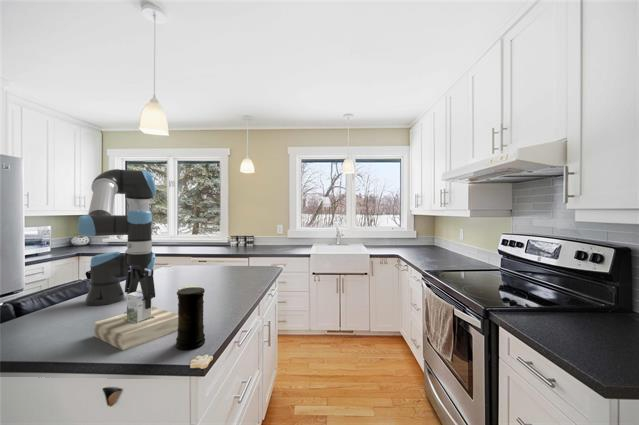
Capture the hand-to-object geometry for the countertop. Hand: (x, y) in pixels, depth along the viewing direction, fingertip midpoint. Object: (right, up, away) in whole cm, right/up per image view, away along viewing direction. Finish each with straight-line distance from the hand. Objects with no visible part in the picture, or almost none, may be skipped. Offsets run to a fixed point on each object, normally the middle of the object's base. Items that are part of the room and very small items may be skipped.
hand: (139, 314), depth 105 cm
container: (+23, -7, -9) cm, 25 cm away
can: (+10, -7, +18) cm, 22 cm away
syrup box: (0, -7, 0) cm, 7 cm away
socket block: (0, -6, 0) cm, 6 cm away
